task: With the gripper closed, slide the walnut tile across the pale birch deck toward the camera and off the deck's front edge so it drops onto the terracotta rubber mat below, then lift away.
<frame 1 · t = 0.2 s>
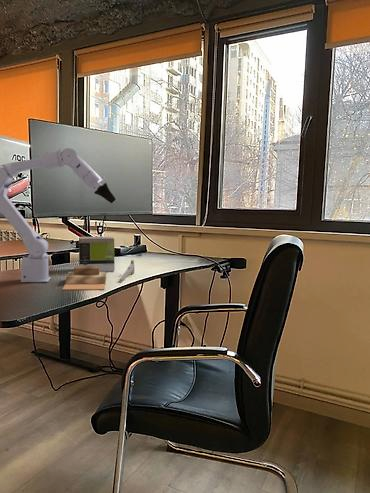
hand: (113, 201, 150), 30 cm above the table, tool tilted 45°, fingers open, 7 cm apart
terracotta mat: (84, 287, 139), on the table
caliper: (126, 279, 159), on the table
birch deck: (86, 281, 148), on the table
tea box: (96, 270, 174), on the table
walnut tile: (87, 270, 149), point 4 cm above the table, touching birch deck
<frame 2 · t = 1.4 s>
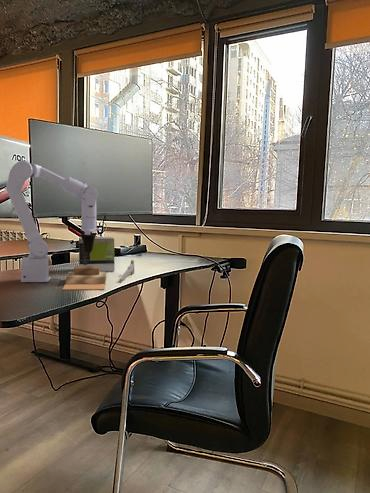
hand: (88, 251, 156), 10 cm above the table, tool pointing down, fingers open, 5 cm apart
nothing on the table moved.
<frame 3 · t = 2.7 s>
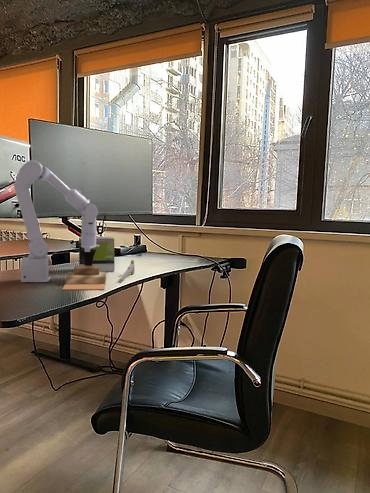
hand: (88, 267, 157), 4 cm above the table, tool pointing down, fingers closed
nothing on the table moved.
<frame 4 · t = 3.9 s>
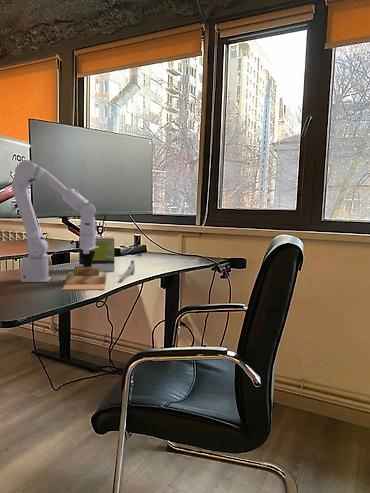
hand: (87, 270, 151), 4 cm above the table, tool pointing down, fingers closed
walnut tile: (86, 271, 147), point 4 cm above the table, touching gripper
everything else where it was.
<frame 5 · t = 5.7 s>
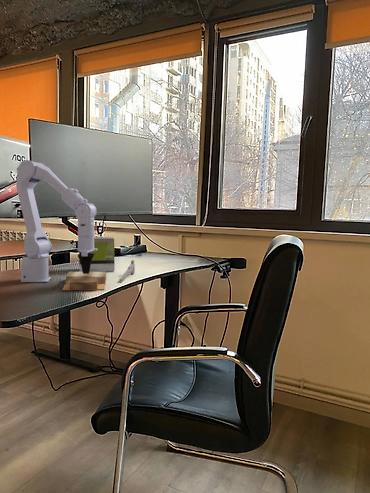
hand: (86, 273, 145), 4 cm above the table, tool pointing down, fingers closed
walnut tile: (84, 284, 137), point 2 cm above the table, tilted 180°, touching terracotta mat
everything else where it was.
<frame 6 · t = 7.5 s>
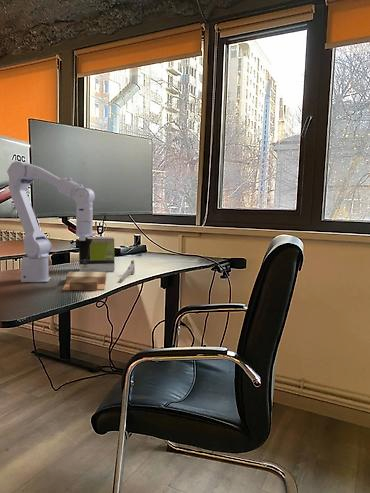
hand: (84, 258, 145), 9 cm above the table, tool pointing down, fingers closed
nothing on the table moved.
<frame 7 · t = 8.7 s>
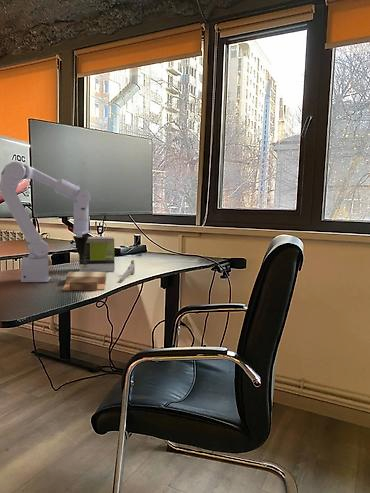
hand: (81, 254, 156), 9 cm above the table, tool pointing down, fingers closed
nothing on the table moved.
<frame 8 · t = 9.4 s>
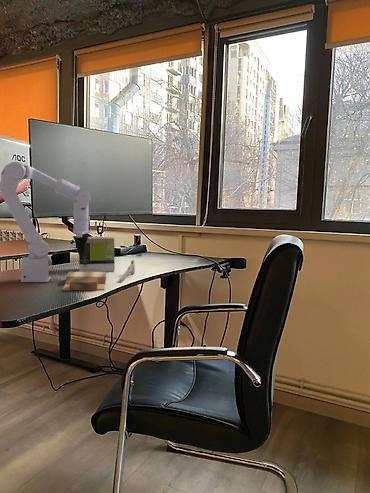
hand: (81, 254, 156), 9 cm above the table, tool pointing down, fingers closed
nothing on the table moved.
at the end: walnut tile inside the target area (2.1 cm from its centre), point 1.6 cm above the table; walnut tile touching terracotta mat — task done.
